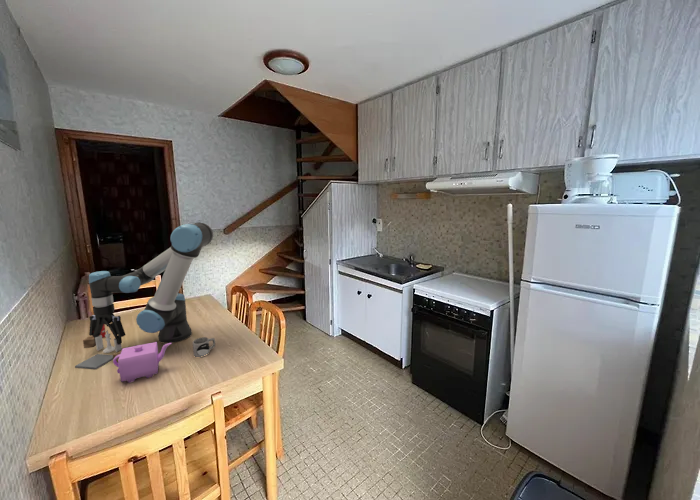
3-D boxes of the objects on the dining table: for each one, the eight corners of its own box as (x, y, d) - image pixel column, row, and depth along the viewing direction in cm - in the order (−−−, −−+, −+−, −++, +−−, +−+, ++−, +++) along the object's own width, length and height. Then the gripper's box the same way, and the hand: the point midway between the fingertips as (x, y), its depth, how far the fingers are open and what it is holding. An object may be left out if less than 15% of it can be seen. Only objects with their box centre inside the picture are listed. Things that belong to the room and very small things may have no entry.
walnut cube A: (98, 343, 146) (97, 335, 145) (93, 347, 142) (92, 339, 141) (89, 344, 145) (88, 336, 144) (84, 348, 141) (82, 340, 140)
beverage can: (98, 340, 149) (95, 318, 147) (90, 339, 150) (87, 317, 148) (108, 335, 154) (105, 314, 152) (100, 334, 155) (97, 313, 153)
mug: (198, 359, 132) (196, 345, 131) (191, 354, 136) (189, 341, 135) (219, 350, 140) (218, 337, 139) (212, 346, 144) (211, 333, 143)
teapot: (113, 387, 112) (108, 357, 109) (117, 374, 120) (114, 345, 118) (174, 372, 121) (171, 344, 119) (174, 361, 130) (171, 334, 128)
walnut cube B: (129, 360, 131) (128, 351, 130) (119, 364, 127) (118, 356, 126) (123, 358, 132) (122, 350, 132) (113, 362, 129) (112, 354, 128)
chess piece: (114, 346, 142) (112, 327, 141) (117, 350, 139) (114, 330, 138) (101, 350, 139) (99, 330, 137) (104, 354, 136) (101, 333, 134)
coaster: (117, 357, 133) (117, 355, 133) (96, 369, 123) (95, 367, 123) (97, 355, 134) (97, 353, 134) (75, 367, 124) (74, 365, 124)
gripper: (131, 303, 138) (136, 347, 141) (90, 300, 140) (96, 344, 144) (117, 308, 130) (123, 355, 134) (74, 306, 133) (81, 352, 136)
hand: (109, 349), depth 139 cm, fingers open, 9 cm apart
